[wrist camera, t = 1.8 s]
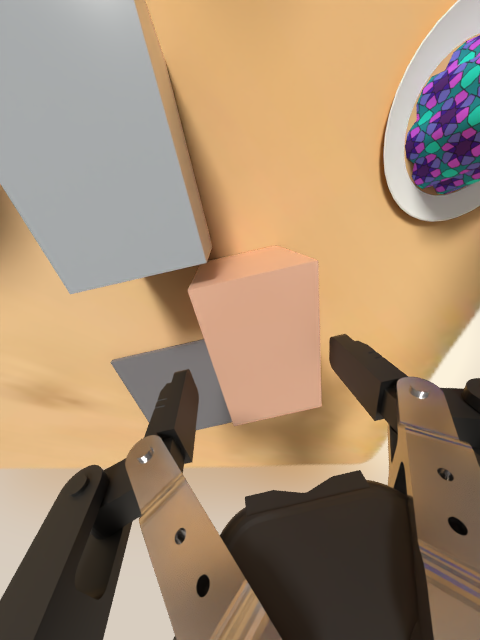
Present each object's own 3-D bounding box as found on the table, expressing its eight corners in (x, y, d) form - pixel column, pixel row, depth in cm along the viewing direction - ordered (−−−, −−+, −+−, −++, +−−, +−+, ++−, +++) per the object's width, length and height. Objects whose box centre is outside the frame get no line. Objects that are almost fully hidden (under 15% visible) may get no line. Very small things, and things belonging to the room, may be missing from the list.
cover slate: (164, 59, 11) (76, -210, 4) (212, 246, 15) (206, 262, 9) (56, 84, 11) (-205, -141, 4) (135, 263, 15) (70, 294, 9)
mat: (213, 337, 19) (213, 339, 19) (238, 417, 24) (238, 420, 24) (112, 359, 19) (110, 362, 19) (160, 435, 24) (159, 438, 24)
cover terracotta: (276, 245, 16) (318, 260, 9) (287, 346, 20) (321, 406, 13) (201, 262, 16) (187, 290, 9) (229, 359, 20) (233, 426, 14)
